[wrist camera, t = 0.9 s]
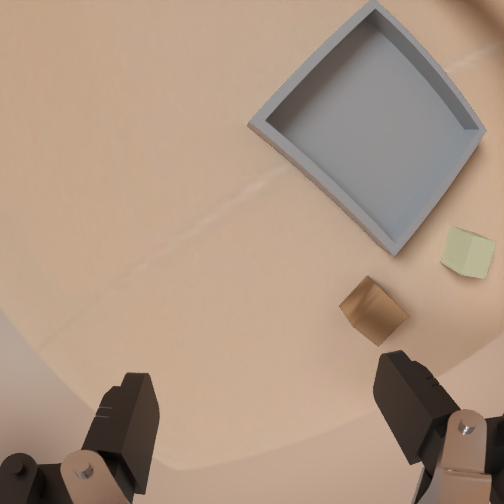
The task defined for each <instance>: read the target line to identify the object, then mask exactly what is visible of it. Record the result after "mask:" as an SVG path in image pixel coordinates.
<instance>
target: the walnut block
mask: <svg viewBox="0 0 504 504" xmlns="http://www.w3.org/2000/svg"><path fill="white" fill-rule="evenodd" d="M339 307H340V308H341V310H342V311H343V313H344V314H345V316H346V317H347V319H348V320H349V322H350V323H351V325H352V326H353V327H354V328H355V329H357V330H358V331H359V332H360V333H362V334H363V335H364V336H365V337H367V338H368V339H369V340H370V341H372V342H373V343H374V344H375V345H377V346H378V347H379V346H380V345H381V344H382V343H383V342H384V341H385V340H386V339H387V338H388V337H389V335H390V334H391V333H392V332H393V331H394V330H395V329H396V328H397V327H398V326H399V325H400V324H401V323H402V322H403V321H404V320H405V318H406V317H407V316H408V315H407V314H406V313H405V312H404V311H403V310H402V309H401V308H400V307H399V306H398V305H397V304H396V303H395V302H394V301H393V300H392V299H391V298H390V297H389V296H388V295H387V294H386V293H385V292H384V291H383V290H382V289H381V288H380V287H379V286H378V285H377V284H376V283H375V282H373V281H372V280H371V279H370V278H369V277H368V276H366V277H365V278H364V279H363V281H362V282H361V283H360V284H359V285H358V286H357V287H356V288H355V289H354V290H353V292H352V293H351V294H350V295H349V296H348V297H347V298H346V299H345V300H344V301H343V302H342V303H341V305H340V306H339Z"/></svg>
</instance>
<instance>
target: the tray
mask: <svg viewBox="0 0 504 504" xmlns="http://www.w3.org/2000/svg"><path fill="white" fill-rule="evenodd" d="M247 126H248V127H249V128H250V129H251V130H253V131H254V132H255V133H256V134H258V135H259V136H260V137H261V138H262V139H264V140H265V141H266V142H267V143H268V144H270V145H271V146H272V147H273V148H274V149H276V150H277V151H278V152H279V153H280V154H281V155H283V156H284V157H285V158H286V159H287V160H288V161H289V162H291V163H292V164H293V165H294V166H295V167H296V168H297V169H299V170H300V171H301V172H302V173H303V174H304V175H305V176H306V177H308V178H309V179H310V180H311V181H312V182H313V183H314V184H315V185H316V186H318V187H319V188H320V189H321V190H322V191H323V192H324V193H325V194H326V195H327V196H328V197H329V198H331V199H332V200H333V201H334V202H335V203H336V204H337V205H338V206H339V207H340V208H341V209H342V210H343V211H344V212H345V213H346V214H347V215H348V216H349V217H350V218H351V219H352V220H354V221H355V222H356V223H357V224H358V225H359V226H360V227H361V228H362V229H363V230H364V231H365V232H366V233H367V234H368V235H369V236H370V237H371V238H372V239H373V240H374V241H375V242H376V243H377V244H378V246H380V247H381V248H383V249H384V250H386V251H387V252H389V253H390V254H392V255H393V256H394V257H395V255H396V254H397V253H398V252H399V251H400V249H401V248H402V247H403V246H404V245H405V243H406V242H407V241H408V240H409V238H410V237H411V236H412V235H413V233H414V232H415V231H416V230H417V228H418V227H419V226H420V225H421V223H422V222H423V221H424V220H425V218H426V217H427V216H428V214H429V213H430V212H431V210H432V209H433V208H434V206H435V205H436V204H437V202H438V201H439V200H440V198H441V197H442V196H443V194H444V193H445V192H446V190H447V189H448V187H449V186H450V185H451V183H452V182H453V181H454V179H455V178H456V176H457V175H458V173H459V172H460V171H461V169H462V168H463V166H464V165H465V163H466V162H467V160H468V159H469V157H470V156H471V154H472V153H473V151H474V150H475V148H476V147H477V145H478V144H479V142H480V140H481V139H482V137H483V136H484V134H485V132H486V131H487V130H486V129H485V127H484V125H483V124H482V122H481V121H480V119H479V118H478V116H477V115H476V113H475V112H474V110H473V109H472V107H471V106H470V105H469V103H468V102H467V100H466V99H465V98H464V96H463V95H462V93H461V92H460V91H459V89H458V88H457V87H456V85H455V84H454V83H453V82H452V80H451V79H450V78H449V76H448V75H447V74H446V73H445V71H444V70H443V69H442V68H441V67H440V65H439V64H438V63H437V62H436V61H435V59H434V58H433V57H432V56H431V55H430V54H429V53H428V51H427V50H426V49H425V48H424V47H423V46H422V45H421V44H420V43H419V42H418V41H417V39H416V38H415V37H414V36H413V35H412V34H411V33H410V32H409V31H408V30H407V29H406V28H405V27H404V26H403V25H402V24H401V23H400V22H399V21H398V20H397V19H396V18H395V17H394V16H393V15H391V14H390V13H389V12H388V11H387V10H386V9H385V8H384V7H383V6H382V5H380V4H379V3H378V2H377V1H376V0H370V1H369V2H368V3H367V4H365V5H364V6H363V7H362V8H361V9H360V10H359V11H358V12H356V13H355V14H354V15H353V16H352V17H351V18H350V19H349V20H348V21H347V22H345V23H344V24H343V25H342V26H341V27H340V28H339V29H338V30H337V31H336V32H335V33H334V34H333V35H332V36H331V37H330V38H328V39H327V40H326V41H325V42H324V43H323V44H322V45H321V46H320V47H319V48H318V49H317V50H316V51H315V52H314V53H313V54H312V55H311V56H310V57H309V58H308V59H307V60H306V61H305V62H304V63H303V64H302V65H301V66H300V67H299V68H298V69H297V70H296V71H295V72H294V73H293V74H292V75H291V77H290V78H289V79H288V80H287V81H286V82H285V83H284V84H283V85H282V86H281V87H280V88H279V89H278V90H277V91H276V92H275V93H274V95H273V96H272V97H271V98H270V99H269V100H268V101H267V102H266V103H265V104H264V105H263V107H262V108H261V109H260V110H259V111H258V112H257V113H256V114H255V115H254V117H253V118H252V119H251V120H250V121H249V123H248V124H247Z"/></svg>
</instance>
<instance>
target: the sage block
mask: <svg viewBox="0 0 504 504" xmlns="http://www.w3.org/2000/svg"><path fill="white" fill-rule="evenodd" d="M495 245H496V242H495V241H493V240H490V239H488V238H486V237H483V236H481V235H479V234H476V233H474V232H471V231H467V230H464V229H460V228H457V227H453V226H450V227H449V231H448V235H447V238H446V242H445V246H444V249H443V253H442V256H441V259H440V262H441V263H442V264H444V265H446V266H447V267H449V268H451V269H452V270H454V271H455V272H457V273H459V274H460V275H464V276H470V277H475V278H481V279H485V278H486V275H487V272H488V269H489V266H490V262H491V259H492V256H493V252H494V249H495Z"/></svg>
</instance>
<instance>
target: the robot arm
mask: <svg viewBox="0 0 504 504" xmlns="http://www.w3.org/2000/svg"><path fill="white" fill-rule="evenodd" d="M373 394H374V399H375V402H376V404H377V405H378V407H379V409H380V411H381V413H382V414H383V416H384V418H385V420H386V422H387V423H388V425H389V427H390V429H391V431H392V432H393V434H394V436H395V438H396V440H397V442H398V444H399V445H400V447H401V449H402V451H403V453H404V454H405V457H406V458H407V460H408V462H409V464H410V465H412V464H415V463H418V462H420V461H422V463H423V465H424V467H423V469H422V471H421V474H420V478H419V481H418V484H417V488H416V491H415V494H414V497H413V500H412V503H411V504H489V501H490V502H491V504H504V414H503V415H502V416H500V417H493V418H487V419H484V418H483V416H481V415H480V414H479V413H477V412H475V411H473V410H466V409H464V410H461V409H460V408H459V407H458V405H457V404H456V403H455V402H454V400H453V399H452V398H451V397H450V395H449V394H448V393H447V392H446V390H445V389H444V388H443V387H442V386H441V385H439V382H438V381H437V380H436V378H434V376H433V375H432V374H431V372H430V371H429V370H428V369H427V368H426V367H425V366H423V365H422V364H420V363H418V362H417V361H411V360H410V359H409V358H408V356H407V355H406V354H405V353H404V352H403V351H402V350H399V351H394V352H389V353H384V354H382V355H381V356H380V359H379V363H378V368H377V373H376V377H375V382H374V386H373ZM159 418H160V413H159V405H158V402H157V398H156V395H155V392H154V388H153V385H152V381H151V378H150V375H149V374H148V373H126V375H125V377H124V379H123V382H122V384H121V387H120V386H113V387H112V388H111V389H110V390H109V391H108V392H107V393H106V394H105V395H104V396H103V398H102V401H101V403H100V405H99V408H98V410H97V412H96V417H94V419H93V422H92V424H91V427H90V429H89V431H88V434H87V437H86V439H85V441H84V444H83V446H82V448H81V450H78V451H75V452H73V453H71V454H69V455H68V456H67V457H66V458H65V459H64V460H63V462H62V463H59V464H41V465H38V464H37V463H36V462H35V460H34V459H33V458H32V457H31V456H29V455H27V454H24V453H16V454H12V455H10V456H8V457H7V458H6V459H5V460H4V461H3V463H2V464H1V466H0V504H132V501H133V496H134V493H136V494H143V495H144V494H145V492H146V486H147V481H148V475H149V470H150V464H151V460H152V454H153V449H154V444H155V439H156V434H157V430H158V425H159Z"/></svg>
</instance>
